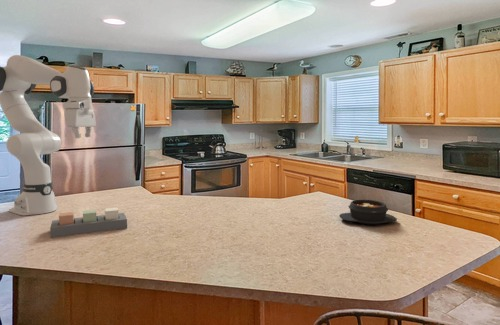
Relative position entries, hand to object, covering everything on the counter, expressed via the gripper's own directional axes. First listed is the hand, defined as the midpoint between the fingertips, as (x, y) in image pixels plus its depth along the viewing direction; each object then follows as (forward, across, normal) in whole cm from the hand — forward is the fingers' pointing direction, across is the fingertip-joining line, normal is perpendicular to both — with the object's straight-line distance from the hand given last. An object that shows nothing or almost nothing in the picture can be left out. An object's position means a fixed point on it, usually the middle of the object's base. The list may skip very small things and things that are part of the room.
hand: (83, 137), depth 149 cm
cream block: (+36, +5, +12) cm, 38 cm away
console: (+38, +8, +4) cm, 39 cm away
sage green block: (+35, +8, +4) cm, 37 cm away
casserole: (+41, -2, +124) cm, 131 cm away
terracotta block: (+35, +12, -4) cm, 37 cm away
